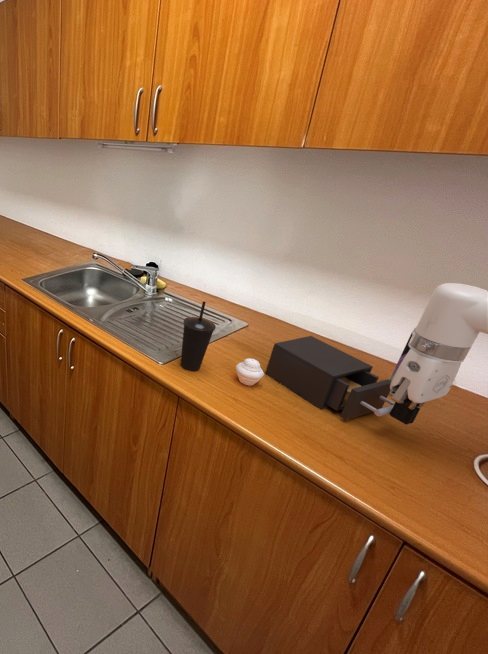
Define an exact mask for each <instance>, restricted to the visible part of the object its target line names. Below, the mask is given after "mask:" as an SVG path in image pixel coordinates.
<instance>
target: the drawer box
mask: <svg viewBox="0 0 488 654" xmlns="http://www.w3.org/2000/svg"><path fill="white" fill-rule="evenodd" d="M373 367H374V366H373V365H372V364H369V363H367V362H365V361H363V360H361V359H359V358H357V357H355V356H352V355H350V354H348V353H347V352H344V351H342V350H341V349H338V348H337V347H334V346H332V345H330V344H328V343H327V342H325V341H323V340H320V339H319V338H317V337H314V336H312V335H307V336H303V337H298V338H293V339H289V340H284V341H279V342H275V343H274V344H273V347H272V350H271V353H270V357H269V360H268V362H267V365H266V368H265V373H264V375H266V376H268V377H269V378H271V379H272V380H274V381H275V382H277V383H279V384H280V385H282V386H283V387H284V388H286V389H288V390H289V391H291V392H292V393H294V394H296V395H297V396H299V397H300V398H301V399H303V400H305V401H306V402H308V403H309V404H311V405H312V406H315V407H316V408H317V409H319V410H324V409H328V408H331V407H330V406H328V405H327V404H325V402H326V400H327V397H328V395H329V392H330V390H331V387H332V385H333V382H334V380H335V378H338V377H342V376H346V375H350V374H354V373H358V372H362V371H368V372H370V373H372V369H373Z"/></svg>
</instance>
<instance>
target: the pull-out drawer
mask: <svg viewBox="0 0 488 654" xmlns="http://www.w3.org/2000/svg"><path fill="white" fill-rule="evenodd" d="M342 377H346V378H347V379H349V380H351V381H353V382H355V383H357V384H359V385H361V387H357V388H353V389H352V390H351V392H350V395H349V397H348V399H347V402H346V404H345V405H343V404H342V402H343V400H344V397H345V395H346V392H347V390H348V388H349V384H348V383H346V382H344V381H342V380H340V379H339V378H342ZM342 377H338V378H335V380H334V382H333V385H332V387H331V390H330V392H329V395H328V397H327V400H326V402H325V404H327V405H328V406H330V407H329V408H331V409H333V410H335V411H336V412H337V411H341V410H342V411H341V414H340V418H342V419H344V420H345V421H346V420H351V419H355V418H357V417H360V416H365V415H367V414H371V413H374V415H375V416H377V417H383V416H387V415H390V412H391V410H392V408H393V406H394V404H395V401H393V400H391V399H389V398H388V397H389V395H390V394H389V392H390V384H391V382H392V381H390V379H388V378H387V379H384V380H380V381H379V376H378V375H376V374H374V373H372V372H368V371H362V372H358V373H354V374H350V375H346V376H342ZM386 403H387V404H389V405H388V406H384V405H385V404H386Z"/></svg>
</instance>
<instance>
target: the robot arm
mask: <svg viewBox="0 0 488 654" xmlns="http://www.w3.org/2000/svg"><path fill="white" fill-rule="evenodd" d="M415 328H416V329H415V331H414V333H413V335H412V337H411V339H410V342H409V344H408V346H409V347H410V348H411V349H410V350H409V352H408V353H407V355H406V356H405V358H404V359H403V361H402V363H401V364H400V366H399V368H398V370H397V371H396V373H395V375H394V377H393V379H392V382H391V384H390V390H391V391H396V392H395V394H394V395H393V396H392V397H391V401H393V402H394V403H395V404H394V406H393V408H392V410H391V412H390V414H389V416H390V417H392V418H393V419H395V420H397V421H399V422H400V423H402V424H404V425H407V426H408V425H410V424H413V423H414V421H415V420H416V418H417V416H418V414H419V413H420V411H421V408H422V407H423V406H424V404H425V403H426V402H430V401H433V400H437V399H440V398H442V397H445V396H446V395H448V393H449V392H450V390H451V388H452V386H453V383H454V381H455V379H456V377H457V374H458V372H459V371H460V368H461V365H462V363H463V362H465V359H466V358H467V356H468V354H469V352H470V350H471V349H472V347H473V345H474V343H475V341H476V339H477V338H478V336H479V334H480V333H483V334H486V335H488V290H486V289H484V288H481V287H478V286H474V285H471V284H470V285H469V284H465V283H460V282H459V283H458V282H445V283H441V284H439V285H437V286H436V287H435V289H434V290H433V292H432V294H431V296H430V298H429V300H428V302H427V304H426V306H425V308H424V310H423V312H422V315H421V317H420V319H419V320H418V323H417V324H416V327H415Z"/></svg>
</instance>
